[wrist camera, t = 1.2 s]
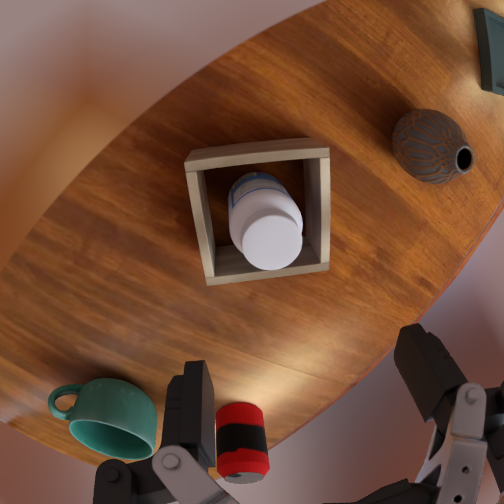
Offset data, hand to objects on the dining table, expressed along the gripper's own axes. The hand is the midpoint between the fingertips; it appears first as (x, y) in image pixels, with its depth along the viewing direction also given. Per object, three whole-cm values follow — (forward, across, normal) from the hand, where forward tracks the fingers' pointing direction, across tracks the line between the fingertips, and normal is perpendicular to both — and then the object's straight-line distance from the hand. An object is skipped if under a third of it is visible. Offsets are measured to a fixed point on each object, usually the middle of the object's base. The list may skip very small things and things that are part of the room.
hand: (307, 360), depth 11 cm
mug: (+20, +25, +26) cm, 41 cm away
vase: (+20, -16, -5) cm, 26 cm away
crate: (+19, 0, 0) cm, 19 cm away
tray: (+19, -32, -17) cm, 41 cm away
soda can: (+20, +6, +35) cm, 40 cm away
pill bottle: (+20, 0, 0) cm, 20 cm away
